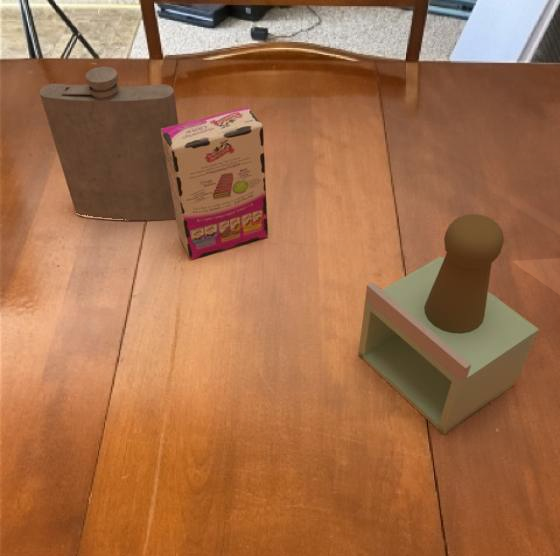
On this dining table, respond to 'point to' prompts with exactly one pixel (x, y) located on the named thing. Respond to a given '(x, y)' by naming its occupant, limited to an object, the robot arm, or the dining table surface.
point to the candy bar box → (217, 181)
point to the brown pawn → (464, 274)
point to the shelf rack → (441, 350)
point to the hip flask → (113, 145)
